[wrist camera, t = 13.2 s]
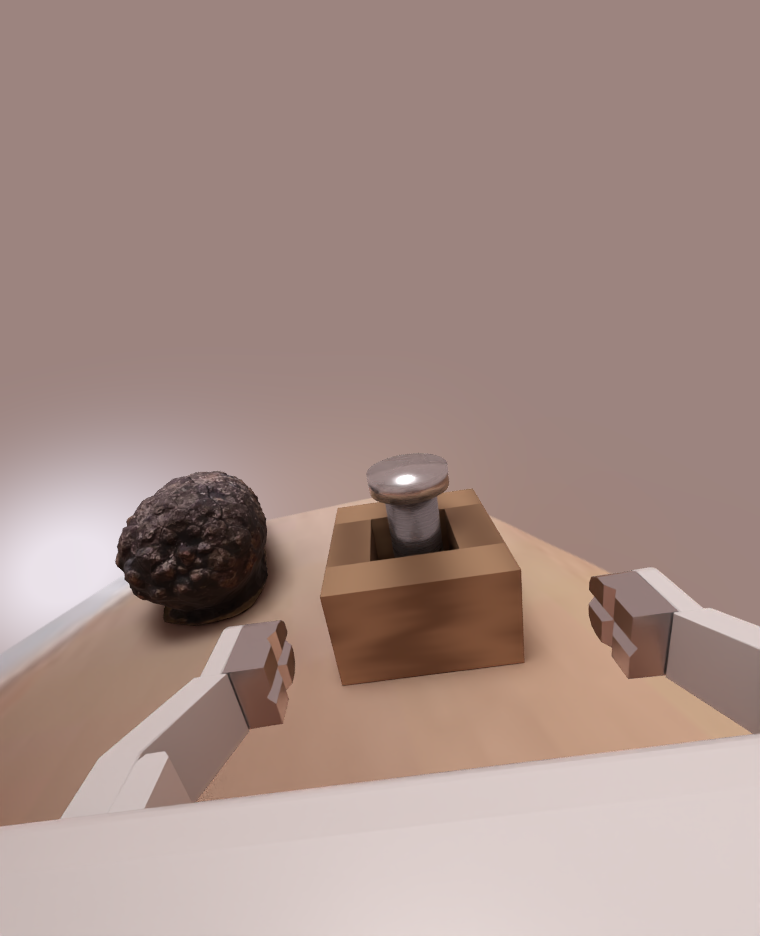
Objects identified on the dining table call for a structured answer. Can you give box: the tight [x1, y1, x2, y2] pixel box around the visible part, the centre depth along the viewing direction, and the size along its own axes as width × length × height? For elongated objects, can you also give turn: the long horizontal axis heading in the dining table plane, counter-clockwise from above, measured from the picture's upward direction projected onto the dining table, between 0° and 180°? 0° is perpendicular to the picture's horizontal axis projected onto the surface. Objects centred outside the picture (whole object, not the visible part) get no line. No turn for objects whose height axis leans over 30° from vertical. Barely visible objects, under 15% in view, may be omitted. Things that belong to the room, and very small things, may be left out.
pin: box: [367, 453, 449, 558], centre depth 25 cm, size 5×5×10 cm
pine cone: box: [115, 471, 268, 625], centre depth 33 cm, size 10×18×10 cm, turn 22°
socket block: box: [320, 489, 524, 685], centre depth 25 cm, size 10×10×6 cm
